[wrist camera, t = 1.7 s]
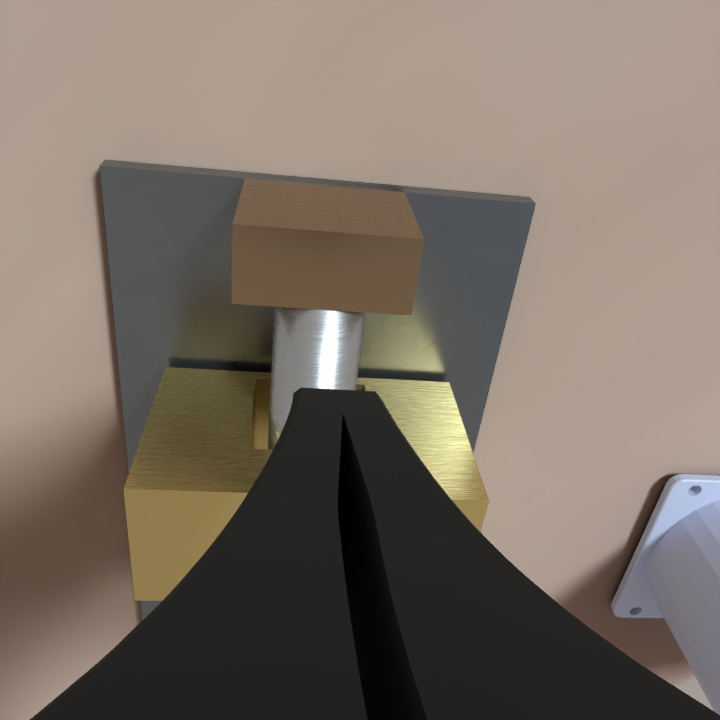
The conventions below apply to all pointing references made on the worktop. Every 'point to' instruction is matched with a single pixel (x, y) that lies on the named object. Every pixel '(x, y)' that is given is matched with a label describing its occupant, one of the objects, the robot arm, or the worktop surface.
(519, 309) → the worktop surface
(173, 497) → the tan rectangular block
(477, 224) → the pipe rig
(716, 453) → the worktop surface
